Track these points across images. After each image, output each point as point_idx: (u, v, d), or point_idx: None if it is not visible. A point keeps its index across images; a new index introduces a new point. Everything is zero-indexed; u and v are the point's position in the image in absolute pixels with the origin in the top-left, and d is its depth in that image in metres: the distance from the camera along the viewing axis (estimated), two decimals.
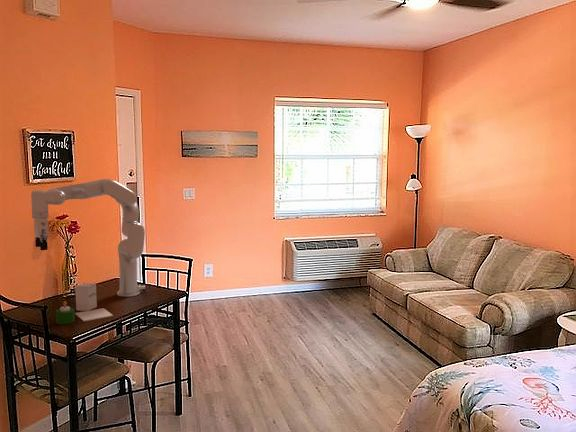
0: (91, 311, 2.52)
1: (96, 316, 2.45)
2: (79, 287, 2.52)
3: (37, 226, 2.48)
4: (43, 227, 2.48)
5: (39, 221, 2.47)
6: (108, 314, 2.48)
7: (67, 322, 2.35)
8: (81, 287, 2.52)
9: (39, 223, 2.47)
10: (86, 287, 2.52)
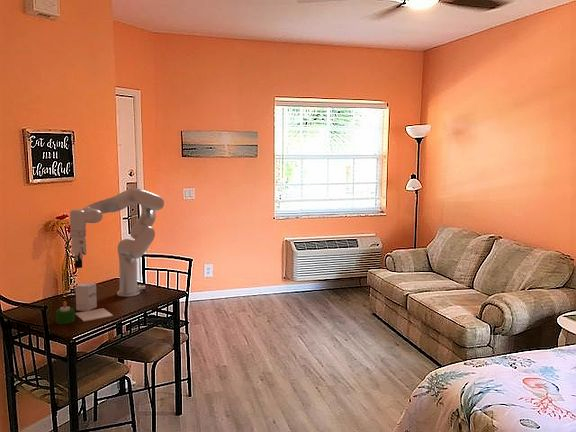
0: (91, 311, 2.52)
1: (96, 316, 2.45)
2: (79, 287, 2.52)
3: (75, 244, 2.57)
4: (81, 245, 2.57)
5: (77, 239, 2.56)
6: (108, 314, 2.48)
7: (67, 322, 2.35)
8: (81, 287, 2.52)
9: (77, 241, 2.56)
10: (86, 287, 2.52)
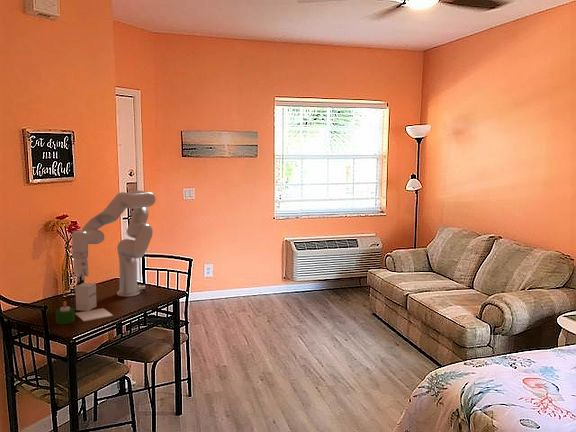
0: (91, 311, 2.52)
1: (96, 316, 2.45)
2: (79, 287, 2.52)
3: (77, 266, 2.55)
4: (83, 267, 2.55)
5: (79, 261, 2.55)
6: (108, 314, 2.48)
7: (67, 322, 2.35)
8: (81, 287, 2.51)
9: (79, 263, 2.55)
10: (86, 287, 2.51)
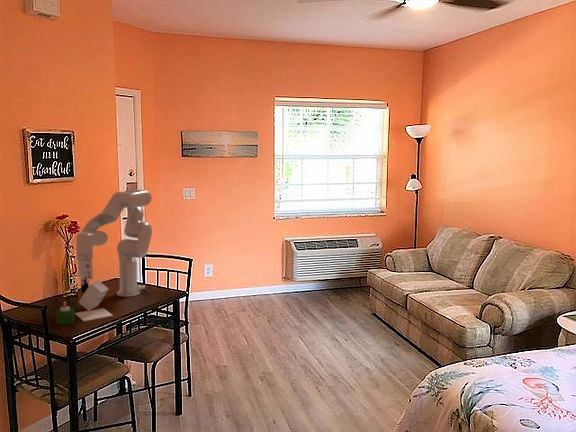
0: (91, 311, 2.52)
1: (96, 316, 2.45)
2: (93, 287, 2.50)
3: (82, 268, 2.50)
4: (87, 269, 2.50)
5: (84, 263, 2.49)
6: (108, 314, 2.48)
7: (67, 322, 2.35)
8: (95, 288, 2.50)
9: (84, 265, 2.49)
10: (99, 291, 2.50)
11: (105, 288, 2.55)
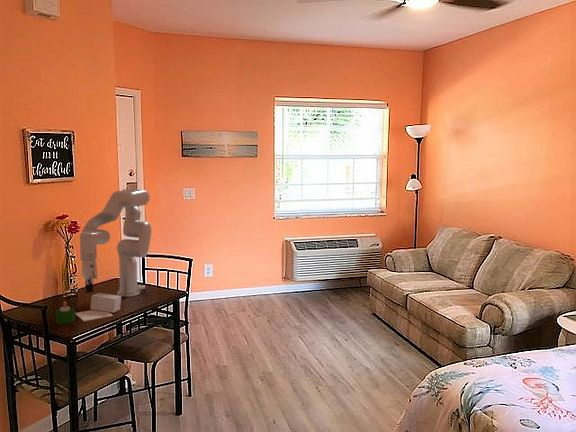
0: (91, 311, 2.52)
1: (96, 316, 2.45)
2: (113, 303, 2.51)
3: (86, 268, 2.46)
4: (92, 269, 2.46)
5: (88, 263, 2.45)
6: (108, 314, 2.48)
7: (67, 322, 2.35)
8: (112, 305, 2.51)
9: (88, 265, 2.45)
10: (112, 311, 2.51)
11: (118, 308, 2.56)
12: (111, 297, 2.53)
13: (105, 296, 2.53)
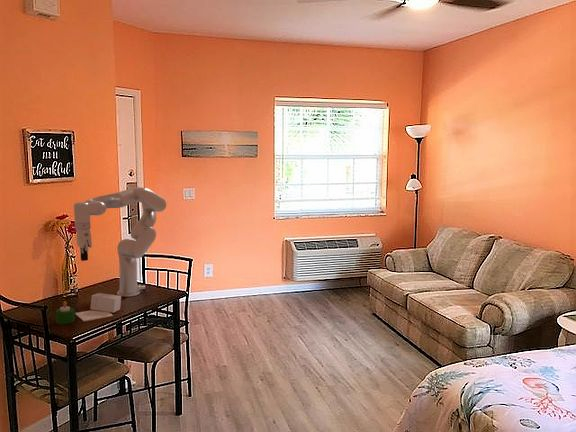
0: (91, 311, 2.52)
1: (96, 316, 2.45)
2: (113, 303, 2.51)
3: (80, 237, 2.56)
4: (86, 238, 2.57)
5: (82, 232, 2.56)
6: (108, 314, 2.48)
7: (67, 322, 2.35)
8: (112, 305, 2.51)
9: (82, 234, 2.56)
10: (112, 311, 2.51)
11: (118, 308, 2.56)
12: (111, 297, 2.53)
13: (105, 296, 2.53)
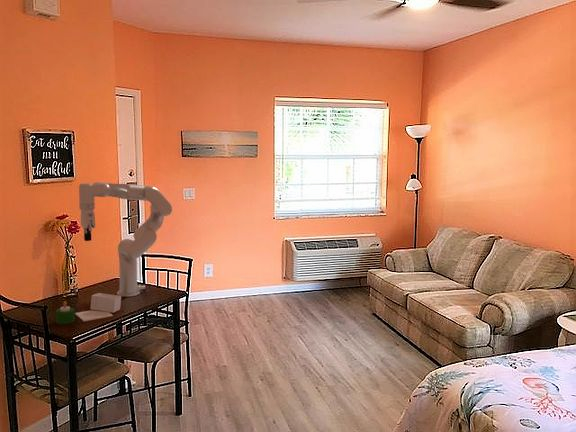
0: (91, 311, 2.52)
1: (96, 316, 2.45)
2: (113, 303, 2.51)
3: (84, 217, 2.62)
4: (90, 218, 2.62)
5: (86, 212, 2.61)
6: (108, 314, 2.48)
7: (67, 322, 2.35)
8: (112, 305, 2.51)
9: (86, 214, 2.61)
10: (112, 311, 2.51)
11: (118, 308, 2.56)
12: (111, 297, 2.53)
13: (105, 296, 2.53)
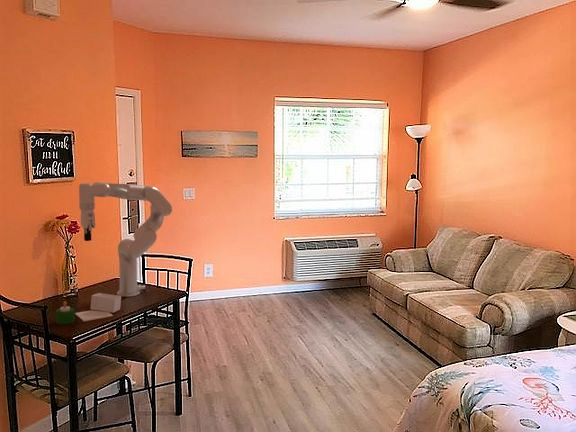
0: (91, 311, 2.52)
1: (96, 316, 2.45)
2: (113, 303, 2.51)
3: (84, 217, 2.62)
4: (90, 218, 2.62)
5: (86, 212, 2.61)
6: (108, 314, 2.48)
7: (67, 322, 2.35)
8: (112, 305, 2.51)
9: (86, 214, 2.61)
10: (112, 311, 2.51)
11: (118, 308, 2.56)
12: (111, 297, 2.53)
13: (105, 296, 2.53)
